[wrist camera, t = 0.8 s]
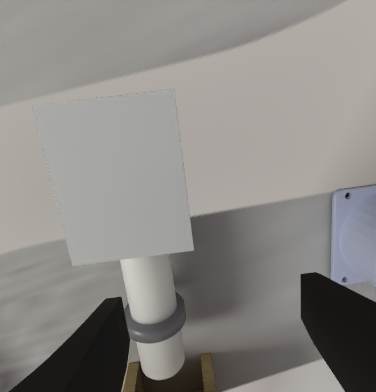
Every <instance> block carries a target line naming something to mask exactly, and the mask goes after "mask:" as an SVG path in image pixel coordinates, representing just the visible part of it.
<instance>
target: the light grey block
mask: <svg viewBox="0 0 376 392" xmlns="http://www.w3.org/2000/svg"><path fill="white" fill-rule="evenodd" d="M32 109H33V112H34V117H35V120H36V124H37V128H38V132H39V136H40V140H41V144H42V147H43V152H44V156H45V160H46V164H47V168H48V171H49V175H50V179H51V183H52V187H53V191H54V195H55V199H56V203H57V207H58V211H59V215H60V219H61V222H62V226H63V230H64V234H65V238H66V242H67V246H68V250H69V254H70V258H71V262H72V266H77V265H85V264H92V263H100V262H108V261H116V260H124V259H132V258H140V257H147V256H155V255H163V254H171V253H179V252H187V251H194V247H193V238H192V230H191V222H190V214H189V206H188V198H187V190H186V182H185V173H184V165H183V158H182V149H181V141H180V133H179V124H178V117H177V109H176V100H175V92H174V89H169V90H161V91H152V92H144V93H136V94H127V95H120V96H111V97H102V98H94V99H86V100H77V101H69V102H61V103H52V104H45V105H36V106H32Z"/></svg>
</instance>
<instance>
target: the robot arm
mask: <svg viewBox="0 0 376 392" xmlns="http://www.w3.org/2000/svg"><path fill="white" fill-rule="evenodd" d="M347 193H349V195H348V197H347V198H345V195H346V194H347ZM344 277H345V279H344V280H342V279H343V278H344ZM364 282H369V283H370V284H371V285H372V286H374V287H375V288H376V185H368V186H360V187H352V188H344V189H338V190H336V191H335V192H334V193H333V196H332V239H331V279H329V278H327V277H325V276H323V275H321V274H319V273H316V272H314V273H307V274H301V319H302V321H303V323H304V325H305V327H306V329H307V331H308V333H309V335H310V337H311V339H312V341H313V343H314V345H315V346H316V348H317V349H318V351H319V352H320V354H321V355H322V357H323V359H324V360H325V361H326V363H327V365H328V366H329V368H330V369H331V371H332V372H333V374H334V375H335V377H336V378H337V380H338V381H339V383H340V384H341V386H342V387H343V389H344V390H345V392H376V302H374V301H372V300H370V299H368V298H366V297H364V296H362V295H360V294H358V293H356V292H354V291H352V290H350V289H348V288H346V287H344V286H343V285H348V284H356V283H364ZM129 344H130V337H129V332H128V327H127V322H126V317H125V313H124V308H123V303H122V298H121V297H116V298H108V299H105V300H104V301H103V302H102V303H101V304H100V305H99V307H98V308H97V309H96V310H95V311H94V312H93V313H92V314H91V315H90V316H89V317H88V319H87V320H86V321H85V322H84V323H83V324H82V325H81V326H80V327H79V328H78V329H77V330H76V331H75V332H74V333H73V334H72V336H71V337H70V338H68V339H67V340H66V341H65V342H64V343H63V344H62V345H61V346H60V347H59V348H58V349H57V350H56V351H55V352H54V353H53V354H52V355H51V356H50V357H49V358H48V359H47V360H46V361H45V362H44V363H42V364H41V365H40V366H39V367H38V368H37V369H36V370H35V371H33V372H32V373H31V374H30V375H29V376H27V377H26V378H25V379H24V380H23V381H21V382H20V383H19V384H18V385H17V386H15V387H14V388H13V389H12V390H10V391H9V392H121V389H122V385H123V381H124V376H125V372H126V368H127V361H128V353H129Z"/></svg>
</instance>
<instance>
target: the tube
mask: <svg viewBox="0 0 376 392" xmlns="http://www.w3.org/2000/svg"><path fill="white" fill-rule="evenodd" d="M120 263H121V268H122V273H123V278H124V283H125V288H126V293H127V298H128V303H129V304H128V305H127V306H126V308H125V310H124V313H125V317H126V322H127V327H128V332H129V337H130V338H131V339H133V340H134V341H136V342H137V347H138V352H139V357H140V362H141V367H142V370H143V372H144V374H145V375H146V376H147V377H149V378H151V379H154V380H163V379H167V378H170V377H172V376H174V375H175V374H176V373H177V372H179V370H180V369H181V368H182V366H183V364H184V360H185V355H184V348H183V341H182V334H181V328H182V327H183V325H184V323H185V320H186V313H185V306H184V301H183V298H182V297H181V296H180V295H179V294H178V293H176V292H175V287H174V281H173V274H172V267H171V261H170V254H163V255H155V256H147V257H140V258H132V259H124V260H120Z"/></svg>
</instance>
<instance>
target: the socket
mask: <svg viewBox="0 0 376 392" xmlns="http://www.w3.org/2000/svg"><path fill="white" fill-rule="evenodd" d="M200 356H201V365H202V375H203V384H204V390H199V391H191V392H216V386H215V379H214V373H213V366H212V359H211V353H206V354H200ZM123 392H145V389H144V384H143V380H142V375H141V370H140V365H139V362H138V363H130V364H129V365H128V370H127V375H126V380H125V385H124V390H123Z"/></svg>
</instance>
